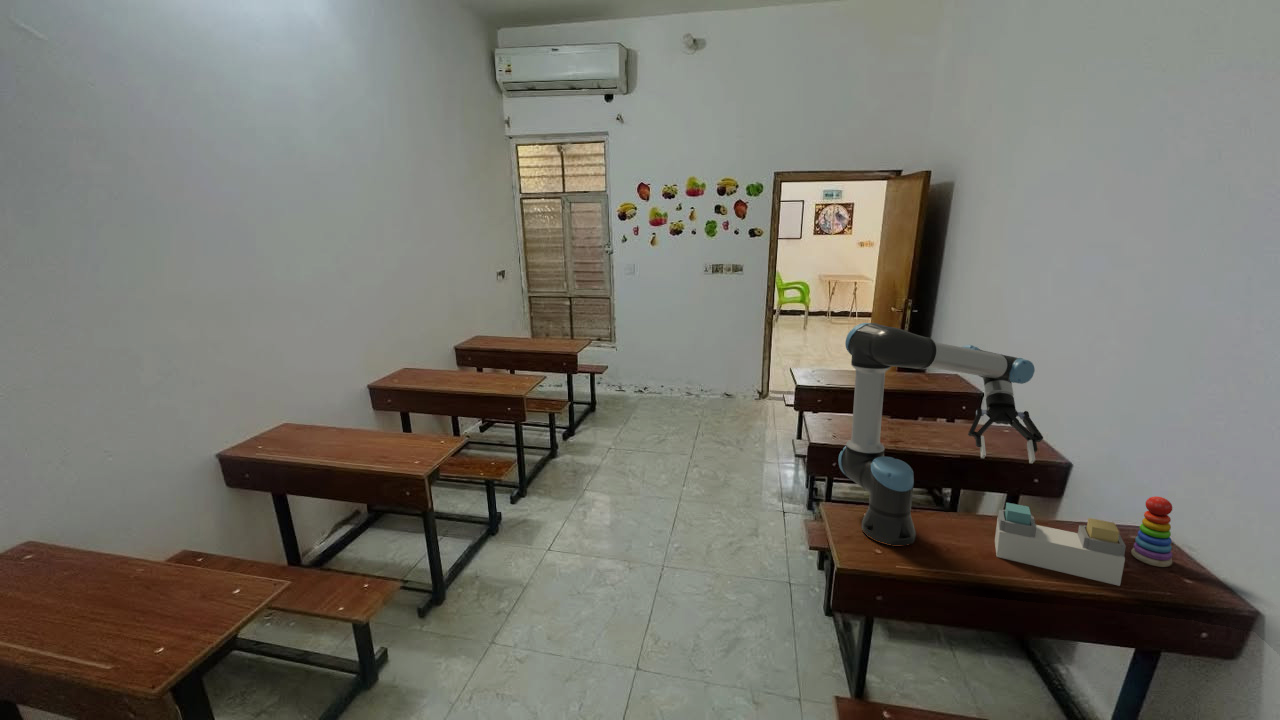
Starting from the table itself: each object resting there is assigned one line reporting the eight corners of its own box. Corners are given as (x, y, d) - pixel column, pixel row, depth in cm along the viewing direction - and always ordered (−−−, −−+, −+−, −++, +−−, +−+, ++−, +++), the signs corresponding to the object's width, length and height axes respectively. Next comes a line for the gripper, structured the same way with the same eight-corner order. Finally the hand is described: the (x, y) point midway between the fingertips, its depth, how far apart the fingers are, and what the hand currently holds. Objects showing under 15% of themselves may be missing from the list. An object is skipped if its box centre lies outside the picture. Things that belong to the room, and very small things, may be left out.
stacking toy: (1153, 551, 140) (1165, 491, 136) (1180, 569, 132) (1193, 505, 129) (1122, 550, 141) (1133, 490, 137) (1148, 568, 133) (1160, 505, 130)
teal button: (1006, 521, 139) (1007, 510, 139) (1004, 513, 144) (1006, 502, 143) (1029, 526, 137) (1031, 514, 136) (1027, 517, 141) (1028, 506, 140)
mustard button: (1090, 538, 130) (1092, 526, 129) (1086, 529, 134) (1088, 517, 133) (1117, 544, 127) (1119, 532, 126) (1112, 534, 131) (1114, 522, 131)
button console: (996, 556, 141) (1000, 521, 138) (994, 541, 148) (998, 507, 146) (1120, 586, 127) (1127, 547, 125) (1111, 567, 134) (1117, 530, 132)
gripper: (1040, 405, 159) (1051, 468, 149) (954, 400, 169) (959, 458, 158) (1048, 394, 153) (1061, 459, 143) (959, 389, 163) (964, 449, 152)
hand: (1007, 459), depth 150 cm, fingers open, 12 cm apart
